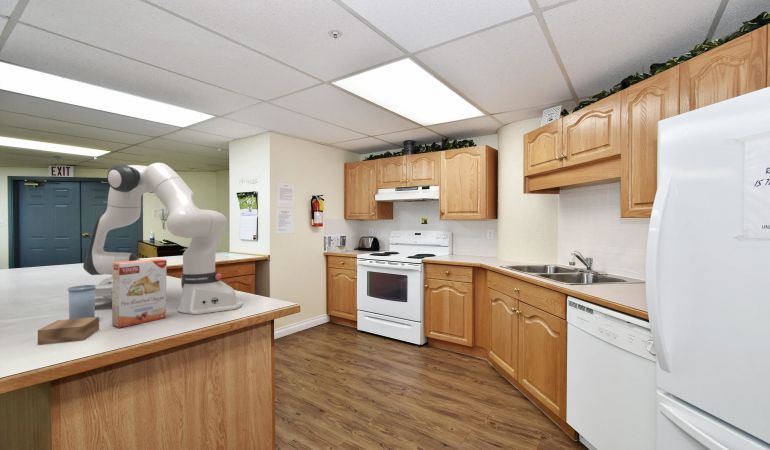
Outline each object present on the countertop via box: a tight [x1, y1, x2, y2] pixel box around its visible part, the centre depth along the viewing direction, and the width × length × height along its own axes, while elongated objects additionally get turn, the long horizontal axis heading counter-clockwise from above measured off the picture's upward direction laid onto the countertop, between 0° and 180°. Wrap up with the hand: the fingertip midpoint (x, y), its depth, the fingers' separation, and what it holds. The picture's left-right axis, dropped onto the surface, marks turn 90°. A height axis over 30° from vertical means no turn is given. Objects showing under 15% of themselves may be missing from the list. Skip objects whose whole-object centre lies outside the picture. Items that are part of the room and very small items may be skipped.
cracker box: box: [111, 258, 167, 329], centre depth 111 cm, size 14×6×21 cm, turn 148°
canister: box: [67, 284, 96, 319], centre depth 110 cm, size 7×7×12 cm
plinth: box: [37, 316, 100, 345], centre depth 97 cm, size 10×10×4 cm
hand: (97, 294), depth 121 cm, fingers open, 8 cm apart
